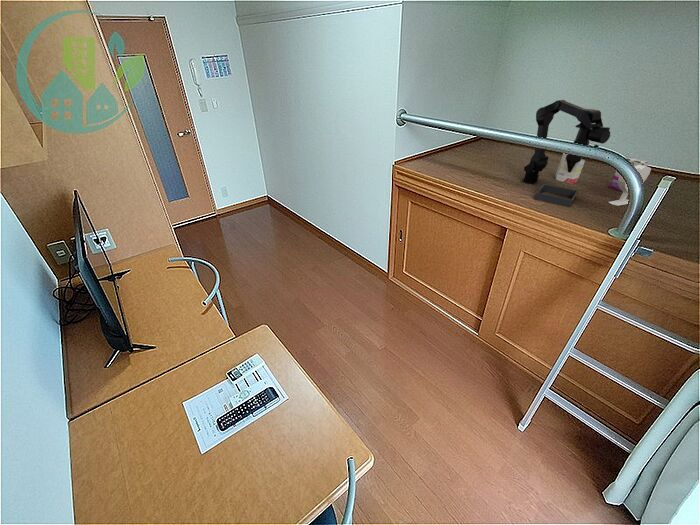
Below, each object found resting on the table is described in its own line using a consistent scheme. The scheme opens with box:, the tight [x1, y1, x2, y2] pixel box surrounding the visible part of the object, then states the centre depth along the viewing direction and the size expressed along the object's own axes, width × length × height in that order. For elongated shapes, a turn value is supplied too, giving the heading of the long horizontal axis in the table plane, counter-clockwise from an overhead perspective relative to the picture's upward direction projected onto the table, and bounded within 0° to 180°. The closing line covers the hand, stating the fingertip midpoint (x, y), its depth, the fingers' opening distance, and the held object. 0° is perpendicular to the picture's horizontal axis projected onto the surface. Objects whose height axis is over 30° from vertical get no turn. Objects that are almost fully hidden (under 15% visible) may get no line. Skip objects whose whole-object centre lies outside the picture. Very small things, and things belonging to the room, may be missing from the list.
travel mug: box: [554, 152, 567, 179], centre depth 186 cm, size 6×7×20 cm
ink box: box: [555, 157, 586, 185], centre depth 163 cm, size 9×5×12 cm, turn 29°
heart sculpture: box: [608, 165, 652, 207], centre depth 157 cm, size 16×5×18 cm, turn 110°
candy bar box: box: [608, 156, 650, 192], centre depth 171 cm, size 11×5×16 cm, turn 21°
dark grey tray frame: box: [534, 183, 579, 208], centre depth 166 cm, size 16×16×4 cm
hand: (570, 170), depth 164 cm, fingers closed on ink box, 6 cm apart
